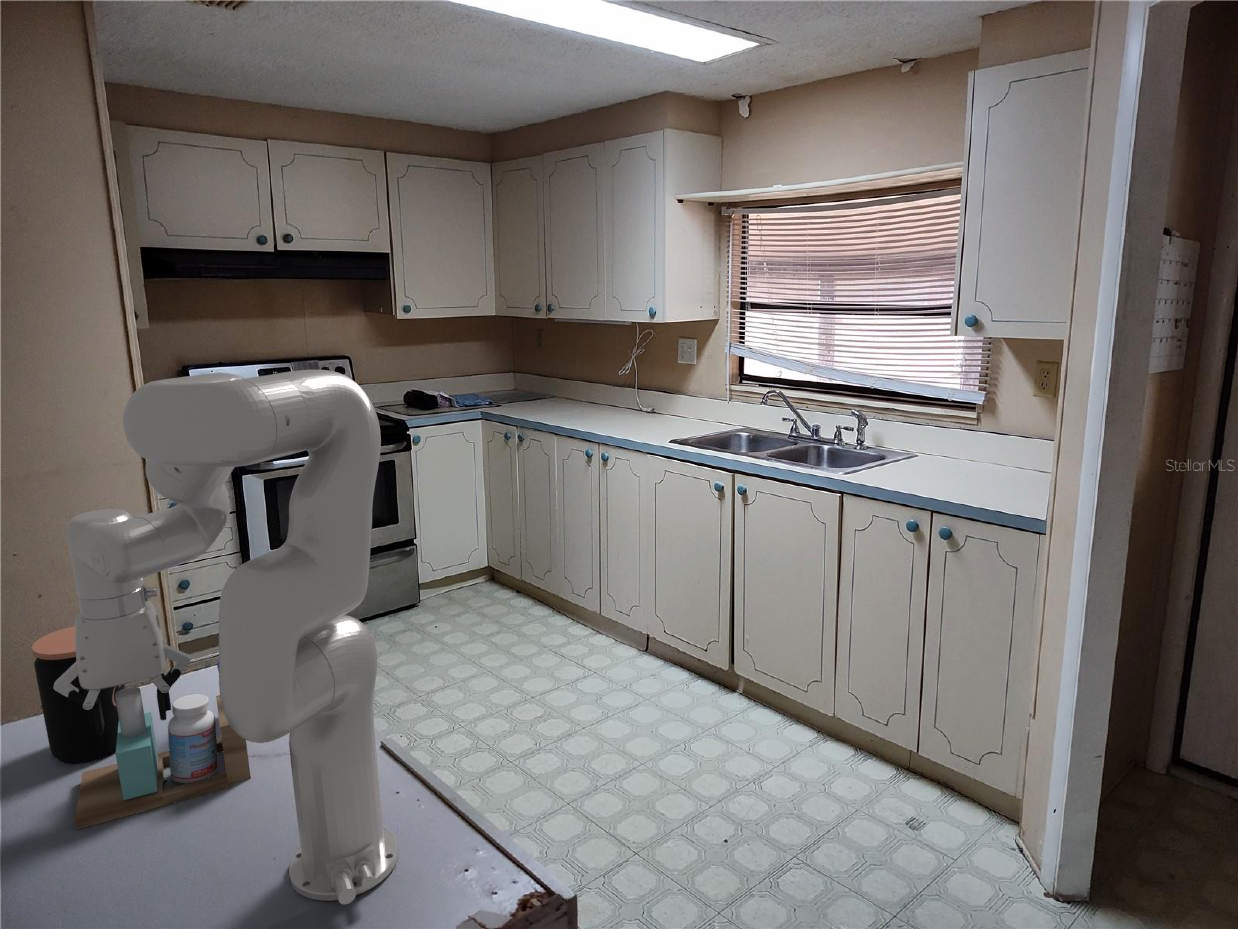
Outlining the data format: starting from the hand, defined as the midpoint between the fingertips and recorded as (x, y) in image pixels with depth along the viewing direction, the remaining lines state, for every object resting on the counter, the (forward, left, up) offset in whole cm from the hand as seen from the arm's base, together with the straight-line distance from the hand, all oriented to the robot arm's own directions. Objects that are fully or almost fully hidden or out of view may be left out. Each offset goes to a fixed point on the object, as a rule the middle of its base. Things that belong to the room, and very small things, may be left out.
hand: (132, 722), depth 114 cm
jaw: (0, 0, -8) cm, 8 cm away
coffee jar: (+16, +7, -11) cm, 20 cm away
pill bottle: (0, -7, -10) cm, 12 cm away
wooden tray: (0, -3, -10) cm, 11 cm away
